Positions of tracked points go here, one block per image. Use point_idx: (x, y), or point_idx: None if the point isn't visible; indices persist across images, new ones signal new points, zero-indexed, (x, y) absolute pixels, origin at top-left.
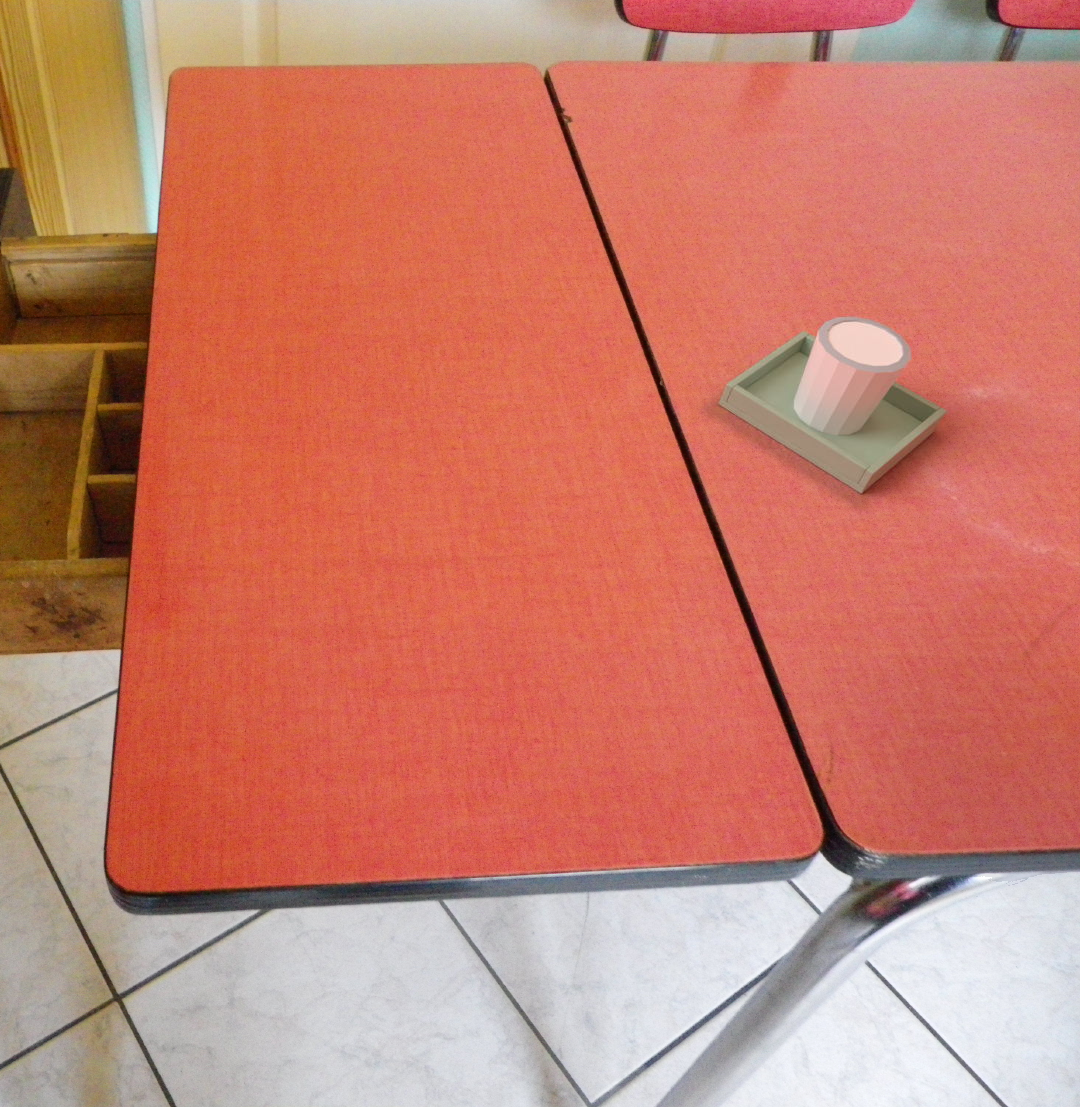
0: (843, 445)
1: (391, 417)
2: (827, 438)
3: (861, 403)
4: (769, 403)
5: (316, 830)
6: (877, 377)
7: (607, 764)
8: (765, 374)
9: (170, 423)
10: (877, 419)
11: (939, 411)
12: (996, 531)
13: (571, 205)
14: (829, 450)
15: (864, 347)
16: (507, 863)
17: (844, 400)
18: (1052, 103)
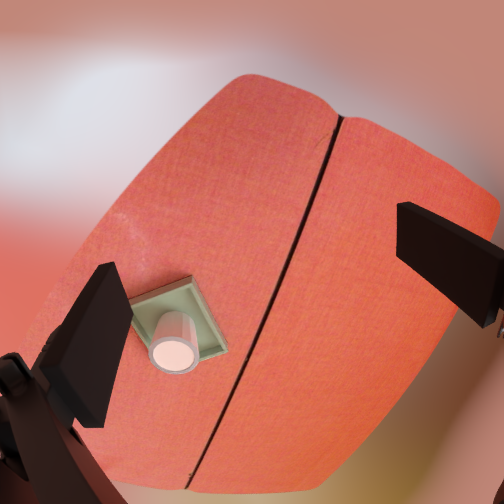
0: (183, 305)
1: (366, 356)
2: (189, 311)
3: (179, 324)
4: (204, 337)
5: (472, 198)
6: (179, 335)
7: (399, 179)
8: None
9: (424, 358)
10: (153, 315)
11: None
12: (136, 232)
13: (218, 444)
14: (202, 302)
15: (175, 354)
16: (441, 161)
17: (188, 328)
18: None
